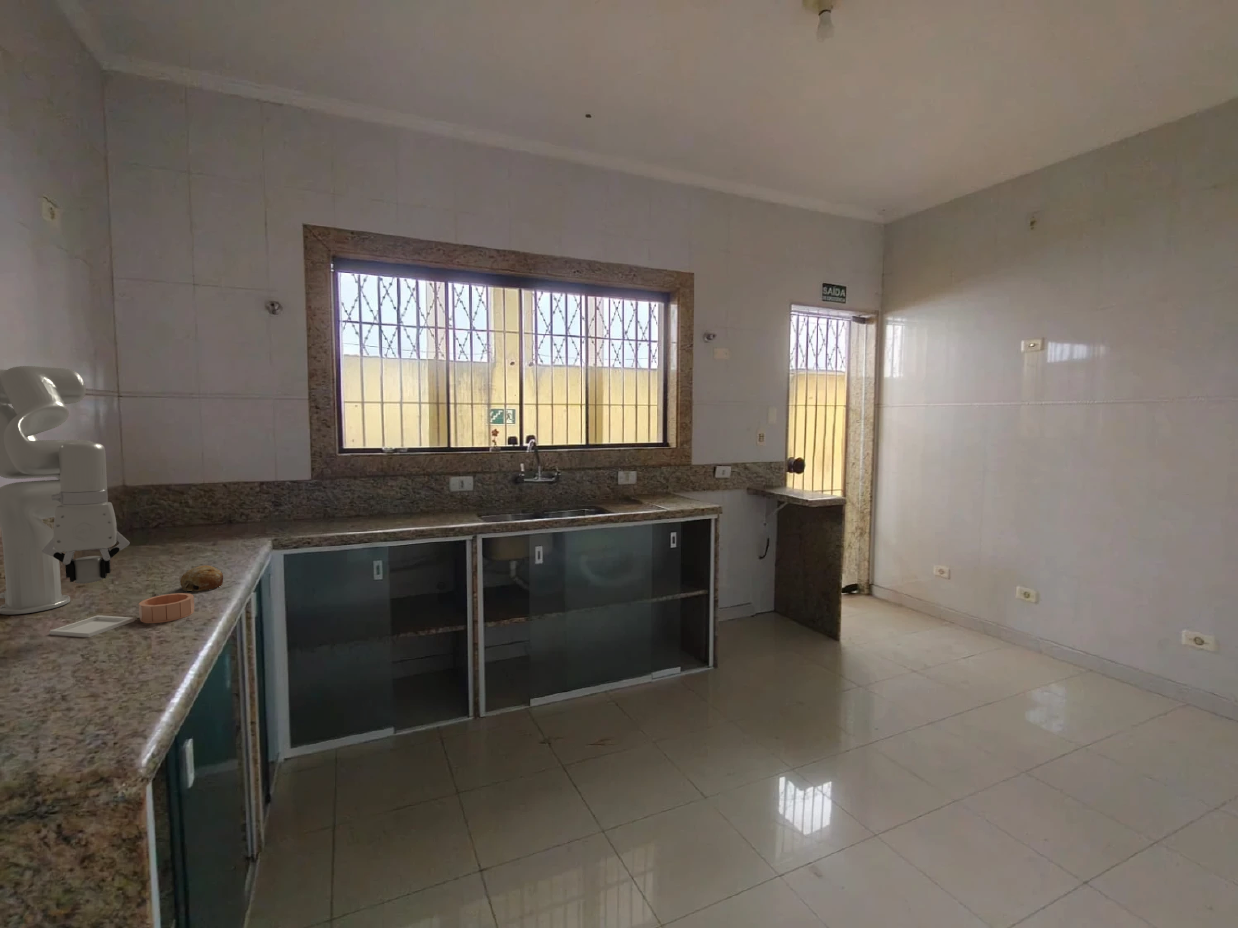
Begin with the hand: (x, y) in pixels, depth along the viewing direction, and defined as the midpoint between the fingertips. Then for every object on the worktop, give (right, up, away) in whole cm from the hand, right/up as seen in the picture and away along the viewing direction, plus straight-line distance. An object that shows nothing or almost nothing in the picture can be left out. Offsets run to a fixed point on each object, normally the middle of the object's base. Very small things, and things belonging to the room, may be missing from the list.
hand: (89, 577), depth 127 cm
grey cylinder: (0, -1, 0) cm, 1 cm away
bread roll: (+1, -10, +33) cm, 35 cm away
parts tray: (0, -12, +1) cm, 12 cm away
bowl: (+11, -11, +9) cm, 18 cm away
